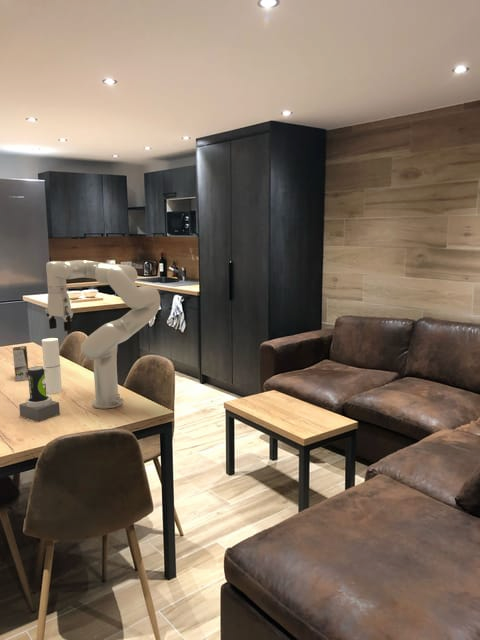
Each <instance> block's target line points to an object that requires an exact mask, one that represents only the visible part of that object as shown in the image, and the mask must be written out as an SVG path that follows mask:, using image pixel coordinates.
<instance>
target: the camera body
mask: <svg viewBox="0 0 480 640" xmlns="http://www.w3.org/2000/svg"><path fill="white" fill-rule="evenodd" d="M46 396H47V400H44V401H39V402H31V401H30V397H28V398H26V399H25V402H23V403H20V404H18V407H19V408H18V409H19V416H20V417H21V416H22V417H21V418H24V417H25V419H28V418H29V419H28V420H32V421H35V422H38V423H39V422H42V421H45V420H47V419H49V418H52V417H56V416H58V415H61V411H60V410H61V409H60V402H58V401H54V400H52V396H51V395H47V394H46Z"/></svg>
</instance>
